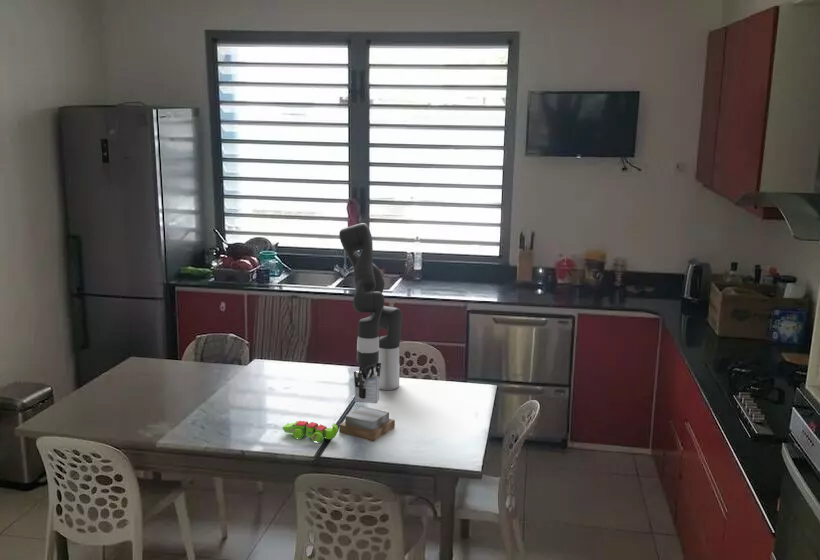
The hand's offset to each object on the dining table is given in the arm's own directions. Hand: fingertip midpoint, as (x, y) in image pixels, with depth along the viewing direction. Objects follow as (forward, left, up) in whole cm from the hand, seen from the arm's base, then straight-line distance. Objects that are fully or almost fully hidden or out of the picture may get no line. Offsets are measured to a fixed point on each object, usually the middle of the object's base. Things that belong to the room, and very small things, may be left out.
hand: (367, 395), depth 266 cm
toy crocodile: (+16, -13, -13) cm, 24 cm away
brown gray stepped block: (0, 0, -13) cm, 13 cm away
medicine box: (0, 0, -2) cm, 2 cm away
